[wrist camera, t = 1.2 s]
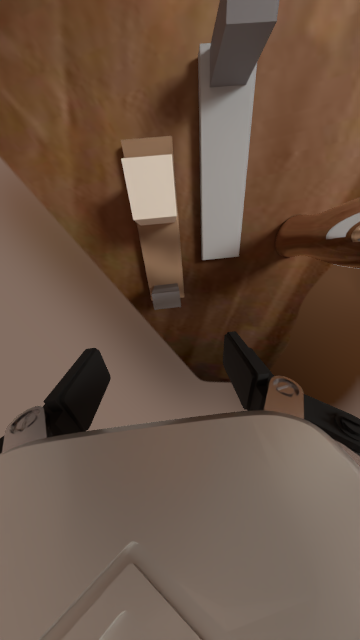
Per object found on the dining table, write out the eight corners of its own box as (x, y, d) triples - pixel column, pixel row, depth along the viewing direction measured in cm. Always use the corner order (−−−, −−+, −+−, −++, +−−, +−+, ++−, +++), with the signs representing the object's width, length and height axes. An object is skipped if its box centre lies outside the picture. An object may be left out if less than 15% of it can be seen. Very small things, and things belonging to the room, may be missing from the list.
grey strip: (198, 55, 15) (214, -48, 10) (253, 51, 15) (299, -52, 10) (201, 259, 24) (210, 263, 19) (236, 256, 25) (254, 258, 19)
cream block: (132, 179, 18) (121, 158, 14) (171, 176, 19) (171, 154, 14) (140, 225, 21) (133, 220, 16) (175, 222, 21) (176, 216, 16)
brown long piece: (123, 145, 18) (104, 102, 12) (171, 141, 18) (173, 96, 13) (152, 299, 27) (148, 312, 22) (183, 295, 27) (187, 307, 22)
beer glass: (274, 266, 26) (385, 288, 13) (269, 224, 23) (411, 193, 10) (314, 249, 25) (478, 252, 12) (314, 202, 22) (539, 136, 9)
